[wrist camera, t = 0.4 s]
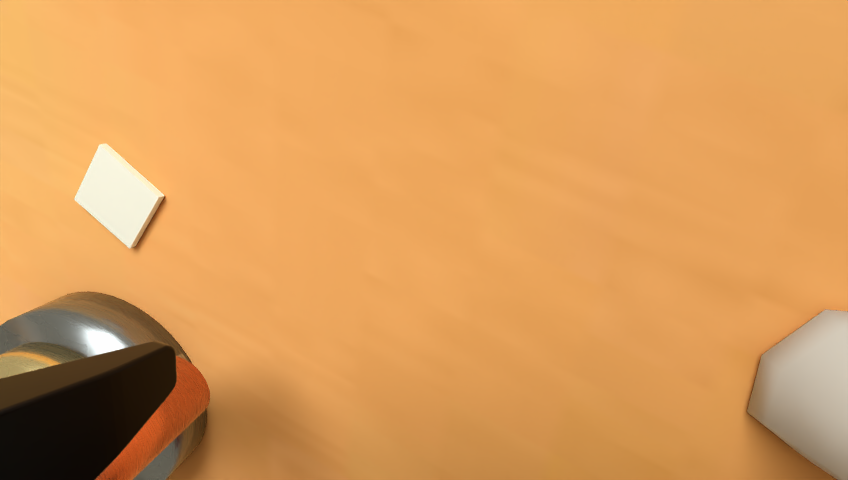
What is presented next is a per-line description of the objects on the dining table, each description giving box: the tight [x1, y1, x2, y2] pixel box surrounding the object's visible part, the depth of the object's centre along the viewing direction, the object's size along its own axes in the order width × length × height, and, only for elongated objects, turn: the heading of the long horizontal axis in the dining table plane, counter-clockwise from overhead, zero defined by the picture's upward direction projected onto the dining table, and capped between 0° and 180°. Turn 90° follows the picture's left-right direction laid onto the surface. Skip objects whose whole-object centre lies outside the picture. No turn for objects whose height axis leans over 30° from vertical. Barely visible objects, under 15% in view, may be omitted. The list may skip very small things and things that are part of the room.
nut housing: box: [0, 292, 207, 480], centre depth 28 cm, size 13×13×3 cm
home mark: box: [74, 144, 165, 248], centre depth 24 cm, size 4×4×1 cm
